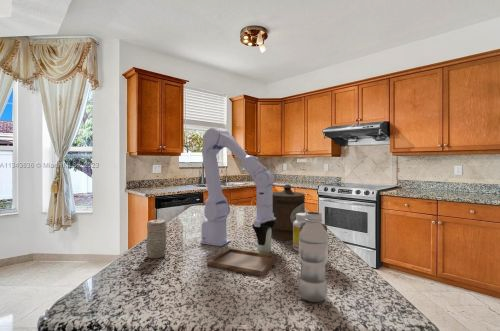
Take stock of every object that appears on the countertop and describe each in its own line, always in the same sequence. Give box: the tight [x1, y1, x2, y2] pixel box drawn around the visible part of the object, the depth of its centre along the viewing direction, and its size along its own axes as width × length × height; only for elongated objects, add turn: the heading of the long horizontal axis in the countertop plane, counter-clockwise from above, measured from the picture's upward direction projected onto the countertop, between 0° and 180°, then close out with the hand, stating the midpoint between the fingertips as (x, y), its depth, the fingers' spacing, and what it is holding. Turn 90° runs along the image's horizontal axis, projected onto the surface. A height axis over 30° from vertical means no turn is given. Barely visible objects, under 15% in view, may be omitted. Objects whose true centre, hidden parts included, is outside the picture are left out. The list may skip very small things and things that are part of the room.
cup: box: [256, 227, 272, 254], centre depth 94 cm, size 5×5×8 cm
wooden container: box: [271, 184, 306, 241], centre depth 113 cm, size 15×15×22 cm
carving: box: [145, 218, 168, 260], centre depth 88 cm, size 6×8×12 cm
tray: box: [206, 246, 279, 278], centre depth 83 cm, size 18×14×2 cm
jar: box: [298, 222, 329, 266], centre depth 83 cm, size 9×8×12 cm
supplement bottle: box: [292, 212, 306, 252], centre depth 96 cm, size 7×7×13 cm
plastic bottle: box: [297, 211, 329, 303], centre depth 61 cm, size 6×7×20 cm
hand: (264, 242), depth 94 cm, fingers closed on cup, 5 cm apart
